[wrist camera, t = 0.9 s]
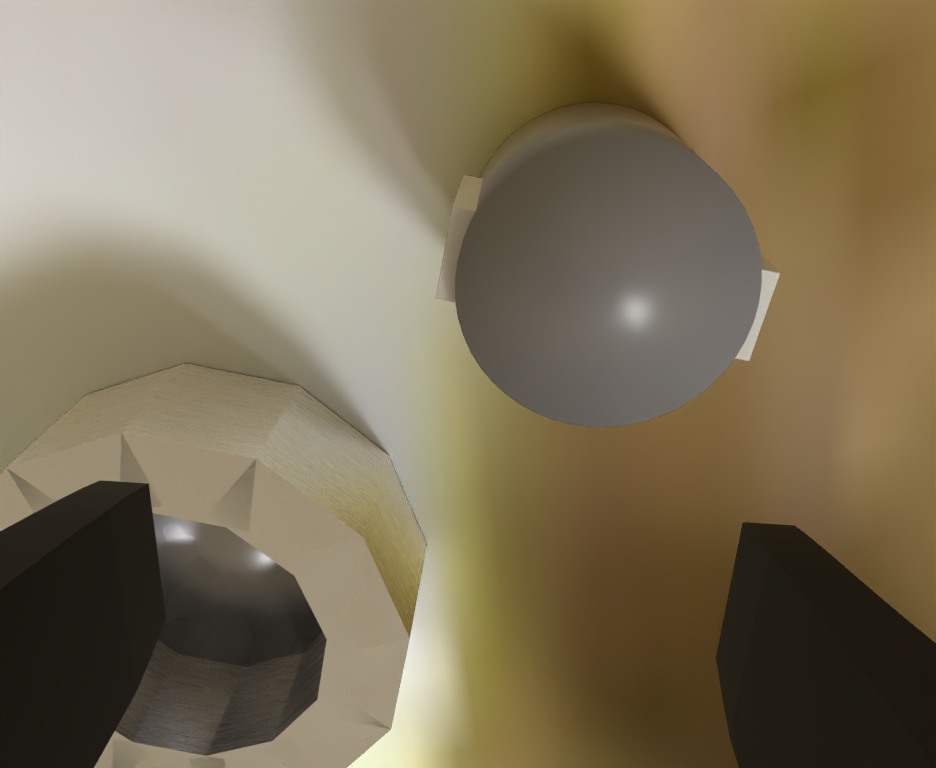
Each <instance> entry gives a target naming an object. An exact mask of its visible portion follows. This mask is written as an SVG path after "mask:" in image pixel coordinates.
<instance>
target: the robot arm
mask: <svg viewBox="0 0 936 768" xmlns="http://www.w3.org/2000/svg"><path fill="white" fill-rule="evenodd" d="M165 620H166V613H165V606H164V598H163V590H162V582H161V575H160V567H159V559H158V551H157V544H156V536H155V528H154V520H153V512H152V505H151V497H150V489H149V483H134V482H119V481H103V480H100V481H97V482H95V483H93V484H90V485H88V486H86V487H84V488H81V489H79V490H77V491H75V492H73V493H71V494H69V495H67V496H65V497H63V498H61V499H59V500H58V501H56V502H54V503H52V504H50V505H48V506H46V507H44V508H42V509H41V510H39V511H37V512H35V513H33V514H31V515H29V516H28V517H26V518H24V519H22V520H20V521H18V522H17V523H15V524H13V525H11V526H9V527H7V528H5V529H4V530H2V531H0V768H94V767H95V765H96V763H97V762H98V760H99V758H100V756H101V755H102V753H103V751H104V749H105V748H106V746H107V744H108V742H109V740H110V739H111V737H112V735H113V733H114V732H115V730H116V728H117V726H118V724H119V723H120V721H121V719H122V717H123V716H124V714H125V712H126V710H127V708H128V707H129V705H130V703H131V701H132V699H133V697H134V696H135V694H136V692H137V690H138V687H139V685H140V683H141V680H142V678H143V675H144V673H145V671H146V668H147V666H148V664H149V661H150V659H151V656H152V654H153V651H154V649H155V646H156V643H157V641H158V638H159V635H160V633H161V630H162V628H163V625H164V622H165ZM716 660H717V666H718V672H719V678H720V685H721V691H722V697H723V703H724V708H725V714H726V719H727V724H728V730H729V735H730V739H731V742H732V746H733V749H734V752H735V756H736V759H737V762H738V766H739V768H936V643H935V642H933V641H932V640H931V639H930V638H929V637H927V636H926V635H925V634H924V633H922V632H921V631H920V630H919V629H917V628H916V627H915V626H914V625H913V624H911V623H910V622H909V621H908V620H907V619H905V618H904V617H903V616H902V615H901V614H899V613H898V612H897V611H896V610H895V609H893V608H892V607H891V606H890V605H889V604H887V603H886V602H885V601H884V600H883V599H882V598H880V597H879V596H878V595H877V594H876V593H875V592H873V591H872V590H871V589H870V588H869V587H868V586H866V585H865V584H864V583H863V582H862V581H861V580H859V579H858V578H857V577H856V576H855V575H854V574H852V573H851V572H850V571H849V570H848V569H847V568H845V567H844V566H843V565H842V564H841V563H840V562H839V561H837V560H836V559H835V558H834V557H833V556H832V555H830V554H829V553H828V552H827V551H826V550H825V549H823V548H822V547H821V546H820V545H819V544H817V543H816V542H815V541H814V540H813V539H811V538H810V537H809V536H808V535H806V534H805V533H804V532H802V531H801V530H800V529H798V528H797V527H796V526H790V525H775V524H760V523H745V522H743V524H742V529H741V534H740V539H739V544H738V549H737V554H736V559H735V564H734V570H733V575H732V580H731V585H730V590H729V595H728V600H727V605H726V610H725V615H724V620H723V625H722V631H721V636H720V641H719V646H718V651H717V656H716Z"/></svg>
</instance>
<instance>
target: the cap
mask: <svg viewBox="0 0 936 768" xmlns="http://www.w3.org/2000/svg"><path fill="white" fill-rule="evenodd" d="M779 275H780V273H779V272H778V271H777V269H776V268H775V267H774V266H773V265H772V264H771V263H770V262H769V261H768V260H767V259H766V257H765V256H764V255H763V254H762V253H761V252H760V250H759V244H758V241H757V238H756V234H755V231H754V228H753V225H752V223H751V221H750V218H749V216H748V214H747V212H746V210H745V208H744V206H743V205H742V203H741V202H740V200H739V199H738V197H737V196H736V194H735V193H734V191H733V190H732V189H731V188H730V187H729V186H728V185H727V184H726V182H725V181H724V180H723V179H722V178H721V177H720V176H719V175H718V174H717V173H716V172H715V171H714V170H713V169H712V168H711V167H710V166H708V165H707V164H706V163H705V162H704V161H703V160H702V159H701V158H700V157H699V156H698V155H697V154H696V153H695V152H694V151H692V150H691V149H690V148H689V147H688V146H687V145H686V144H685V143H684V142H683V141H682V140H681V139H680V138H679V137H677V136H676V135H675V134H674V133H673V132H672V131H671V130H669V129H668V128H667V127H666V126H665V125H663V124H662V123H660V122H659V121H657V120H655V119H654V118H652V117H651V116H649V115H647V114H644V113H642V112H640V111H637V110H635V109H632V108H628V107H625V106H621V105H616V104H609V103H580V104H573V105H568V106H564V107H561V108H557V109H554V110H551V111H549V112H546V113H544V114H542V115H539V116H537V117H536V118H534V119H532V120H531V121H529V122H527V123H526V124H524V125H523V126H521V127H520V128H519V129H518V130H516V131H515V132H514V133H513V134H511V135H510V136H509V137H508V138H507V139H506V140H505V141H504V142H503V143H502V144H501V145H500V147H499V148H498V149H497V151H496V152H495V153H494V155H493V156H492V157H491V159H490V160H489V162H488V164H487V165H486V167H485V169H484V171H483V172H482V175H481V177H480V178H478V177H473V176H468V175H463V178H462V181H461V184H460V186H459V189H458V192H457V195H456V198H455V201H454V204H453V207H452V212H451V217H450V223H449V228H448V234H447V239H446V245H445V250H444V255H443V261H442V266H441V272H440V277H439V283H438V288H437V294H436V298H437V299H442V300H447V301H452V302H456V308H457V314H458V319H459V323H460V326H461V329H462V333H463V336H464V338H465V340H466V343H467V345H468V347H469V349H470V351H471V353H472V355H473V356H474V358H475V360H476V361H477V363H478V364H479V366H480V368H481V369H482V370H483V371H484V372H485V374H486V375H487V376H488V377H489V378H490V380H491V381H492V382H493V383H494V384H495V385H496V386H497V387H498V388H500V389H501V390H502V391H503V392H504V393H505V394H506V395H508V396H509V397H510V398H512V399H513V400H515V401H516V402H517V403H519V404H520V405H522V406H524V407H526V408H528V409H529V410H531V411H533V412H535V413H537V414H540V415H542V416H545V417H547V418H550V419H552V420H556V421H560V422H564V423H568V424H572V425H580V426H587V427H614V426H625V425H630V424H635V423H640V422H644V421H647V420H650V419H653V418H656V417H659V416H662V415H665V414H667V413H669V412H671V411H673V410H675V409H677V408H679V407H681V406H683V405H684V404H686V403H688V402H689V401H691V400H692V399H694V398H696V397H697V396H698V395H700V394H701V393H702V392H703V391H705V390H706V389H707V388H708V387H710V386H711V385H712V384H713V383H714V382H715V381H716V380H717V379H718V378H719V377H720V376H721V375H722V374H723V373H724V372H725V371H726V369H727V368H728V367H729V365H730V364H731V363H732V361H733V360H734V359H735V358H736V359H741V360H746V361H749V360H750V357H751V354H752V351H753V349H754V346H755V343H756V340H757V337H758V334H759V332H760V329H761V326H762V323H763V320H764V317H765V315H766V312H767V309H768V306H769V303H770V300H771V298H772V295H773V292H774V289H775V286H776V283H777V281H778V278H779Z"/></svg>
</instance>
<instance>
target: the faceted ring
mask: <svg viewBox="0 0 936 768" xmlns="http://www.w3.org/2000/svg"><path fill="white" fill-rule="evenodd" d="M100 480H103V481H119V482H134V483H149V489H150V497H151V505H152V512H153V520H154V528H155V536H156V544H157V551H158V559H159V567H160V575H161V582H162V590H163V598H164V606H165V613H166V620H165V622H164V625H163V628H162V630H161V633H160V635H159V638H158V641H157V643H156V646H155V649H154V651H153V654H152V656H151V659H150V661H149V664H148V666H147V668H146V671H145V673H144V675H143V678H142V680H141V683H140V685H139V687H138V690H137V692H136V694H135V696H134V697H133V699H132V701H131V703H130V705H129V707H128V708H127V710H126V712H125V714H124V716H123V717H122V719H121V721H120V723H119V724H118V726H117V728H116V730H115V732H114V733H113V735H112V737H111V739H110V740H109V742H108V744H107V746H106V748H105V749H104V751H103V753H102V755H101V756H100V758H99V760H98V762H97V763H96V765H95V767H94V768H347V767H348V766H349V765H350V764H352V763H353V762H354V761H355V760H356V759H357V758H358V757H360V756H361V755H362V754H363V753H364V752H365V751H367V750H368V749H369V748H370V747H371V746H372V745H373V744H375V743H376V742H377V741H378V740H379V739H380V738H381V737H383V736H384V735H385V734H386V733H387V732H388V731H390V730H391V726H392V721H393V716H394V712H395V707H396V702H397V697H398V692H399V687H400V682H401V678H402V673H403V668H404V663H405V658H406V653H407V648H408V644H409V639H410V633H411V628H412V622H413V617H414V611H415V606H416V601H417V595H418V590H419V584H420V579H421V573H422V568H423V562H424V557H425V551H426V546H427V544H426V542H425V539H424V537H423V535H422V532H421V530H420V528H419V525H418V523H417V521H416V518H415V516H414V514H413V511H412V509H411V507H410V504H409V502H408V500H407V497H406V495H405V493H404V490H403V488H402V486H401V483H400V481H399V479H398V476H397V474H396V472H395V469H394V467H393V465H392V463H391V460H390V458H389V456H388V454H387V453H385V452H384V451H383V450H382V449H380V448H379V447H378V446H376V445H375V444H374V443H372V442H371V441H370V440H369V439H367V438H366V437H365V436H363V435H362V434H361V433H359V432H358V431H357V430H356V429H354V428H353V427H352V426H350V425H349V424H348V423H346V422H345V421H344V420H343V419H341V418H340V417H339V416H337V415H336V414H335V413H333V412H332V411H331V410H330V409H328V408H327V407H326V406H324V405H323V404H322V403H320V402H319V401H318V400H317V399H315V398H314V397H313V396H311V395H310V394H309V393H307V392H306V391H305V390H304V389H302V388H301V387H300V386H297V385H292V384H287V383H282V382H277V381H272V380H267V379H262V378H257V377H252V376H247V375H242V374H237V373H232V372H227V371H222V370H217V369H212V368H207V367H202V366H197V365H192V364H186V363H184V364H181V365H178V366H175V367H172V368H169V369H166V370H162V371H159V372H156V373H153V374H150V375H147V376H144V377H141V378H137V379H134V380H131V381H128V382H125V383H122V384H119V385H115V386H112V387H109V388H106V389H103V390H100V391H97V392H94V393H90V394H87V395H85V396H84V397H83V398H82V399H81V400H80V401H79V402H78V403H76V404H75V405H74V406H73V407H72V408H71V409H70V410H69V411H68V412H66V413H65V414H64V415H63V416H62V417H61V418H60V419H59V420H58V421H57V422H55V423H54V424H53V425H52V426H51V427H50V428H49V429H48V430H47V431H45V432H44V433H43V434H42V435H41V436H40V437H39V438H38V439H37V440H36V441H34V442H33V443H32V444H31V445H30V446H29V447H28V448H27V449H26V450H25V451H23V452H22V453H21V454H20V455H19V456H18V457H17V458H16V459H15V460H13V461H12V462H11V463H10V464H9V465H8V466H7V467H6V468H5V469H4V471H3V472H2V473H1V475H0V531H2V530H4V529H5V528H7V527H9V526H11V525H13V524H15V523H17V522H18V521H20V520H22V519H24V518H26V517H28V516H29V515H31V514H33V513H35V512H37V511H39V510H41V509H42V508H44V507H46V506H48V505H50V504H52V503H54V502H56V501H58V500H59V499H61V498H63V497H65V496H67V495H69V494H71V493H73V492H75V491H77V490H79V489H81V488H84V487H86V486H88V485H90V484H93V483H95V482H97V481H100Z"/></svg>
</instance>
